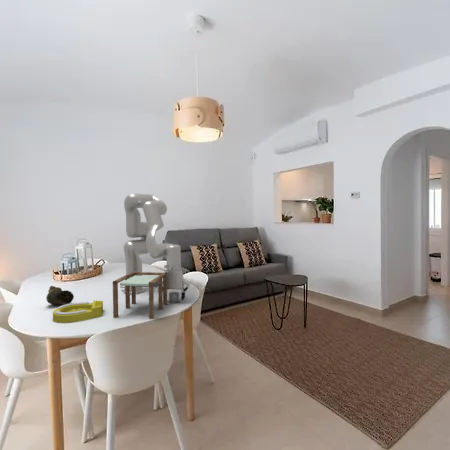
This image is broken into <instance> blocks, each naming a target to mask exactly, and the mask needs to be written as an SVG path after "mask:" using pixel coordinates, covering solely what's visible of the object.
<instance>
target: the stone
mask: <svg viewBox="0 0 450 450" xmlns="http://www.w3.org/2000/svg"><path fill="white" fill-rule="evenodd" d="M168 302H169V304H178V303H179V302H180V292H179V291H174V290H173V291H170V292H169V294H168Z"/></svg>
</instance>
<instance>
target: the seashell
mask: <svg viewBox="0 0 450 450" xmlns="http://www.w3.org/2000/svg"><path fill="white" fill-rule="evenodd" d="M48 288H49V289H48V293H47V295H46V302H47V303H48V304H50V305H54V306H62V305H66V304H71V303H73V300H74V297H75V296H74V293H73V292H72V291H70V290H62V288H61V287H59V286H57V287H56V286H54V285H50V286H49V287H48Z"/></svg>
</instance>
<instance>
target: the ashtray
mask: <svg viewBox="0 0 450 450" xmlns="http://www.w3.org/2000/svg"><path fill="white" fill-rule="evenodd" d="M103 313H104V302H103V300H93V301H92V302H88V301H85V302H82V301H81V302H71V303H69V304H66V305H59V306H58V307H56V309H55V308H54V310H53V311H52V321H53V322H55V323H57V324H58V323H60V324H68V323H69V324H70V323H77V322H81V321H87V320H91V319H95V318H99V317H102V316H103Z"/></svg>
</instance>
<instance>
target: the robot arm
mask: <svg viewBox="0 0 450 450" xmlns="http://www.w3.org/2000/svg"><path fill="white" fill-rule="evenodd" d="M123 202H124V203H123V206H124V212H125V232H126V236H127V237H128V238H131V239H132V238H133V239H132V240H128V241H126V242H125V243H124V245H123V253H124V257H125V258H124V259H125V275H127V274H129V273H131V272H143V262H142V259H141V258H140V256H142V255H147V254H149V255H150V257H151V258H153V259H162V258H166V265H164V266H163V267H164V269H165V271H164V273H167V290H180V291H181V301H184V299H185V298H186V292H187V290H188V289H189V287H190V286H191V284H190V283H189V282H187V281H186V280H184V279H185V278H184V273H183V270H182V265H181V264H182V263H181V262H182V261H181V260H182V259H181V257H182V255H181V249H182V248H181V246H180V245H179V244H174V243H168V242H166V243H157V241H156V233H157V231H158V232H159V230H161V229H163V227H164V224H165V223H164V221H163V218H162V216H163V215H166V213H167V211H168V207H167V205H166V203H165V202H164V201H163V200H162V199H161V198H159V197H157V196H155V195H153V194H150V193H149V194H148V193H147V194H145V193H130V194H127V195H126V197H125V199H124V201H123ZM138 209H142V211H143V215H144V218H145V220H146V221H142V220H141V218H142V217H141V212H140V210H138ZM134 238H139V239H134ZM135 276H143V275H135ZM130 278H131V277H130ZM184 286H186V287H184ZM119 287H120V289H123V293H124V294H125V285H120V284H119ZM162 290H163V280H162ZM145 291H146V287H136V295H137V294H142V293H143V292H145ZM130 295H132V292H131V286H130Z"/></svg>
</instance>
